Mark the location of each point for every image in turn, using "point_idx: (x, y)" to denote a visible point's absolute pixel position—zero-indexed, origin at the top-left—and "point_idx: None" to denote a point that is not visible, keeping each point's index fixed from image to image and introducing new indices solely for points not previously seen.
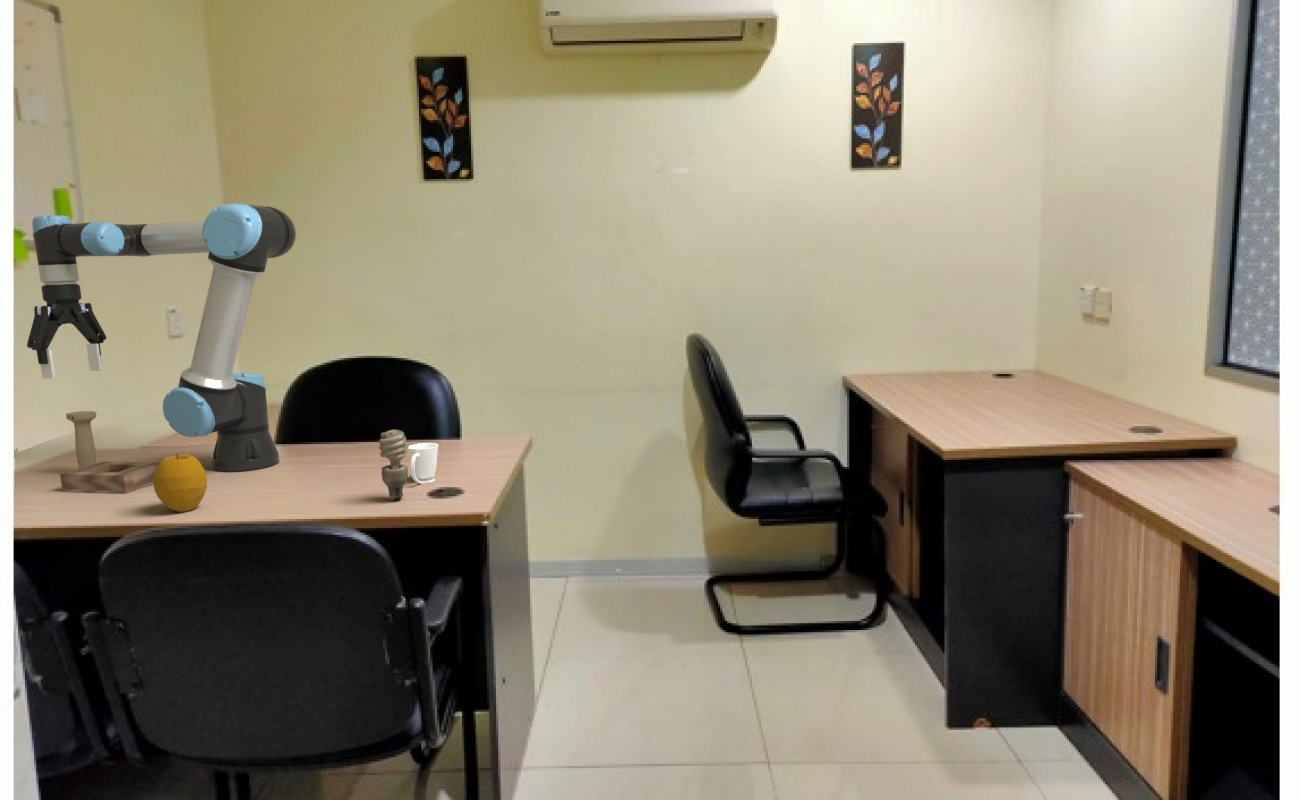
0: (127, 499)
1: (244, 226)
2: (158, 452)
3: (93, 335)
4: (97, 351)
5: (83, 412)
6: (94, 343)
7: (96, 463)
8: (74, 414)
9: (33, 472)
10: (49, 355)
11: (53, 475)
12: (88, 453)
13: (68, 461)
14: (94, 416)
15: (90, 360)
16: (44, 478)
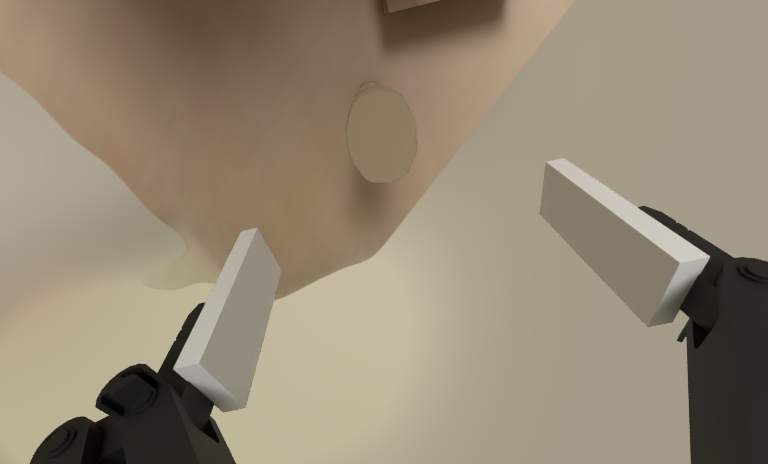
0: None
1: None
2: (167, 153)
3: (173, 454)
4: (217, 311)
5: (372, 143)
6: (194, 389)
7: (409, 7)
8: (410, 132)
9: (392, 217)
10: (665, 228)
11: None
12: (380, 87)
13: (315, 241)
14: (365, 92)
15: (264, 302)
16: (420, 154)
